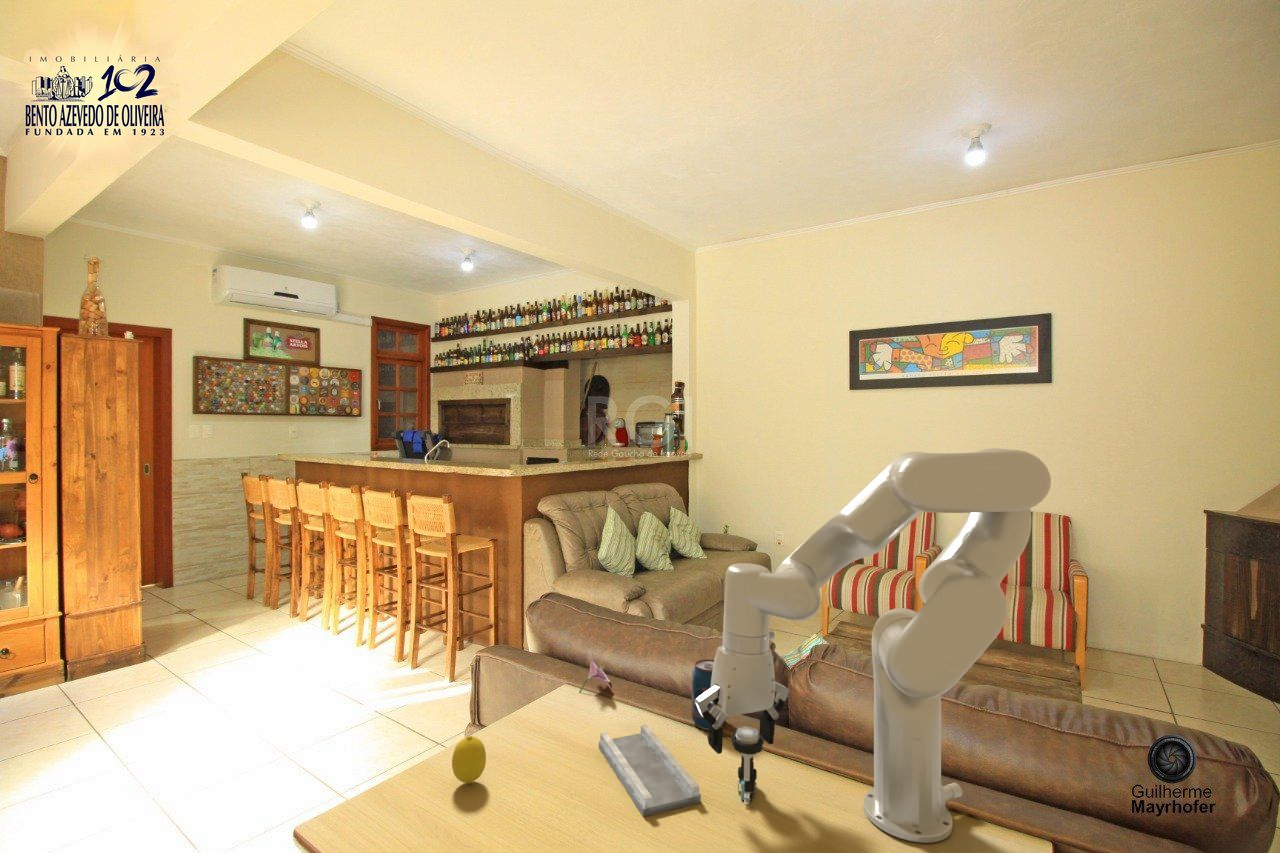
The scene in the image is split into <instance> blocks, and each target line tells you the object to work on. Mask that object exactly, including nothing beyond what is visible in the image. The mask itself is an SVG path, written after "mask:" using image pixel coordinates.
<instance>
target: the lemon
mask: <svg viewBox="0 0 1280 853" xmlns="http://www.w3.org/2000/svg"><path fill="white" fill-rule="evenodd" d="M486 753H487V752H486V747H485V745H484V743H483V742H482V740H481V739H479V737H476V736H472V735H467V736H466V737H464V738H462V739H461V740H460V741H459V742H458V743H457V744H456V745H455V747H454V750H453V754H452V759H451V767H452V771H453V772H452V773H453V775H454V776H455V778H456V779H457V780H458V781H460V782H462V783H466V784H467V785H471V784H472V783H473V782H474V781H476V780H478V778H480V777H481V776H482V774H483V772H484V771H485V768H486V765H487V764H486V763H487V762H486V761H487V754H486Z"/></svg>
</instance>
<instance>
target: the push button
mask: <svg viewBox="0 0 1280 853" xmlns="http://www.w3.org/2000/svg"><path fill="white" fill-rule="evenodd" d="M758 731H759V730H757V729H756V728H754V727H751V726H741V727H737V729H736V731H734V732H733V733H732V734H731V735H730V740H731V742H732V746H733V749H734V750H735V751H736V752H738V753H739V754H741V762H740V766H738V768H737V777H738V780H737V792H739V789H740V791H741V792H740V796H741V797H740V799H741V800H743V801H744V802H743V804H745V805H750V802H752V801H753V796H754V795H755V792H757V791H758V790H757V785H758V784H757V781H756V780H757V778H758V777H757V776H758V775H757V774H758V773H757V772H758V770H757V769H756V768H754V767H755V765H754V764H755V762H754V756H755V755H757V754H758V753H761V752H762V751H763V746H764V744H765V743H764V741H765V740H764V738H763V736H762V735H760V734H759V732H758ZM739 787H740V788H739Z"/></svg>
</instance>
